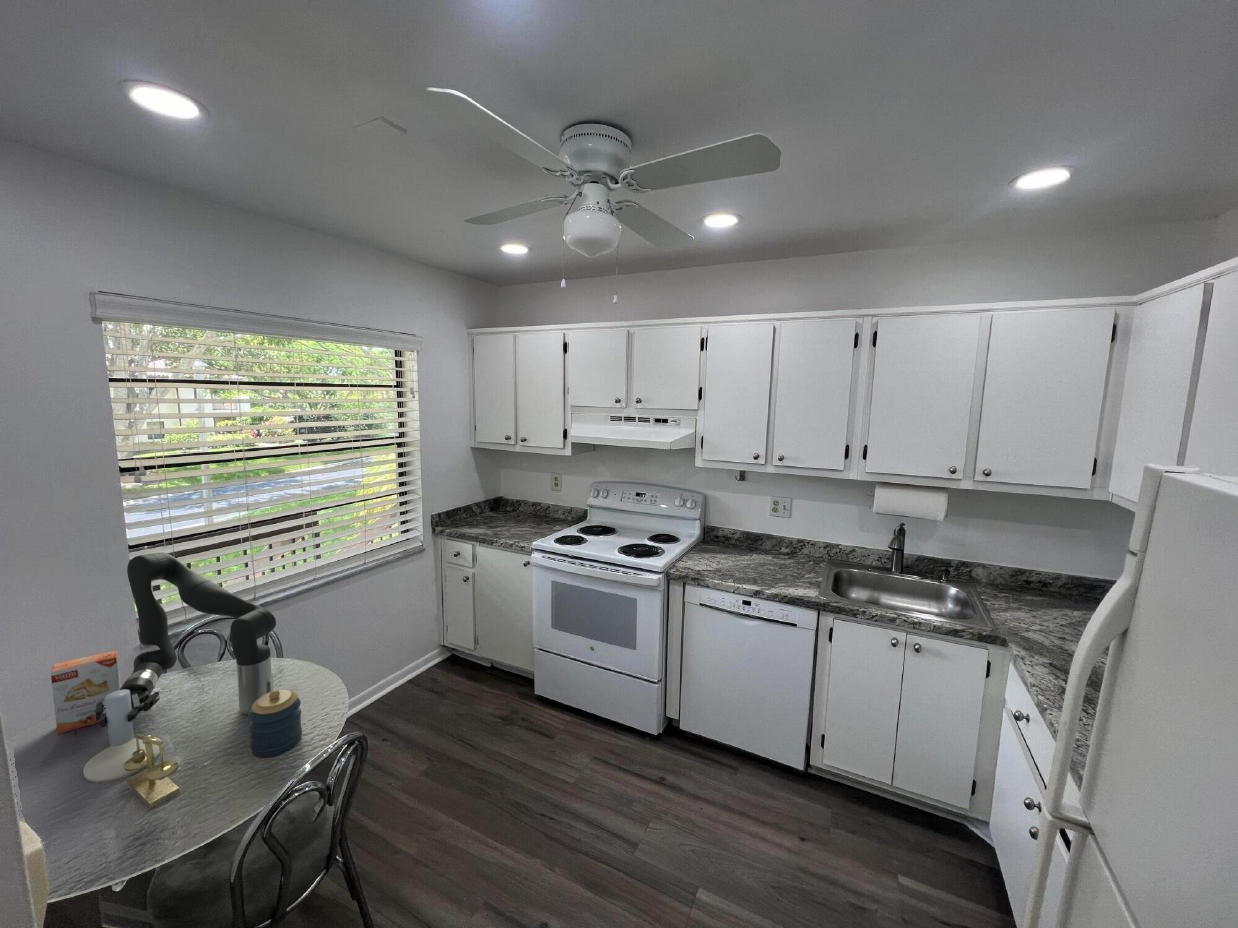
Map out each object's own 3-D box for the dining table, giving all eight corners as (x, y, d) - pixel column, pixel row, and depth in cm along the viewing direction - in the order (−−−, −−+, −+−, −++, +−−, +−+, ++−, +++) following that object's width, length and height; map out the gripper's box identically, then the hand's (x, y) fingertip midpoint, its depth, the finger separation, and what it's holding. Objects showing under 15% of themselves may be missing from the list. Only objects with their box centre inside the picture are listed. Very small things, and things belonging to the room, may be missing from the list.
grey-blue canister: (136, 731, 143) (132, 687, 141) (130, 742, 139) (126, 697, 137) (113, 736, 141) (108, 691, 139) (106, 748, 137) (101, 702, 135)
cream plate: (170, 734, 152) (169, 730, 151) (152, 770, 138) (152, 765, 138) (98, 751, 144) (97, 746, 144) (72, 790, 130) (71, 785, 130)
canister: (312, 733, 155) (310, 682, 153) (275, 763, 143) (272, 707, 140) (278, 725, 158) (276, 675, 155) (239, 753, 145) (235, 699, 143)
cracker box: (57, 735, 149) (49, 671, 146) (59, 725, 153) (52, 663, 150) (122, 716, 159) (116, 656, 156) (123, 707, 163) (117, 648, 160)
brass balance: (185, 797, 130) (180, 739, 127) (155, 814, 124) (149, 753, 122) (150, 765, 140) (145, 710, 137) (121, 779, 134) (115, 722, 132)
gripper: (104, 682, 147) (78, 716, 133) (167, 671, 154) (149, 702, 140) (106, 704, 148) (81, 741, 134) (169, 693, 155) (151, 726, 141)
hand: (116, 721), depth 137 cm, fingers closed on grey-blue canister, 5 cm apart
